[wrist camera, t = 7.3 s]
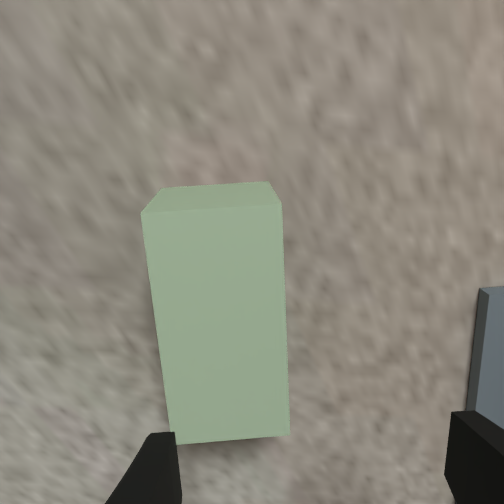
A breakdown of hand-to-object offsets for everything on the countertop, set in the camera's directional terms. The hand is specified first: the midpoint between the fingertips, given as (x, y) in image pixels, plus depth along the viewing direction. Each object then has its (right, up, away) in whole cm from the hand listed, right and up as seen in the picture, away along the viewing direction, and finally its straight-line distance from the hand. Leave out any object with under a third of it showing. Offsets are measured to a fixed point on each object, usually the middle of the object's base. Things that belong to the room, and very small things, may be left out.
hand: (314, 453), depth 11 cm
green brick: (-3, +4, +9) cm, 10 cm away
